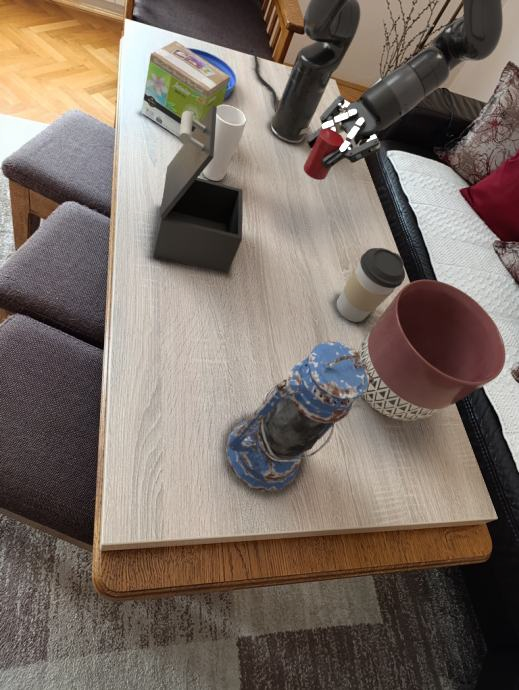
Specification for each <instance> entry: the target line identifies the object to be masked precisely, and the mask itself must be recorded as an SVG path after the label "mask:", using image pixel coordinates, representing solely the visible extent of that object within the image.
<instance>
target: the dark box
mask: <svg viewBox="0 0 519 690" xmlns="http://www.w3.org/2000/svg"><path fill="white" fill-rule="evenodd" d="M243 194H244V190H243V189H242V188H239V187H236V186H231V185H228V184H224V183H220V182H217V181H213V180H209V179H204V178H201V177H197V179H196V180H195V181H194V182H193V184H192V185H191V186H190V187H189V188H188V190H187V191H186V192H185V193H184V195H183V196H182V197H181V198H180V199H179V201H178V202H177V203H176V204H175V206H174V207H173V208H172V209H171V211H170V212H169V213H168V214H167V215H166V217H165V218H164V219H163V218H162V217H160V213H161V206H162V202H161V203H160V206H159V207H160V208H159V212H158V213H159V214H158V221H157V228H156V234H155V240H154V246H153V247H154V248H153V253H152V257H153V258H154V259H158V260H163V261H169V262H173V263H177V264H180V265H181V264H182V265H186V266H191V267H196V268H199V269H200V268H201V269H205V270H209V271H215V272H219V273H222V274H223V273H224V274H229V272H230V270H231V267H232V264H233V262H234V259H235V257H236V254H237V253H238V250H239V247H240V246H241V243H242V240H243V211H244V210H243V209H244V208H243V207H244V206H243V205H244V203H243V202H244V201H243V200H244V196H243ZM162 199H163V197H162V198H161V200H162Z"/></svg>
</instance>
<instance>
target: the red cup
mask: <svg viewBox="0 0 519 690" xmlns="http://www.w3.org/2000/svg"><path fill="white" fill-rule="evenodd" d="M344 142H345V140H344V138H343V136H342V135H341V133H337V132H335V131H333V130H331V129H322V130H321V131H320V133H319V135H318V137H317V139H316V141H315V143H314V145H313V147H312V149H310V152H309V154H308V156H307V157H306V158H307V159H306V160H305V161H304V164H303V171H304V173H305V174H306V175H307V176H308V177H309V178H311V179H313V180H317V181H323V180H325V179H326V178H327V176H328V175H329V172H330V170H331V168H332V167H330V168H329V167H328V168H325V167H324V166H323V164H322V162H321V161H322V159H324V158H325V157H326V156H328V155H329V154H330V153H332V152H333V151H334V150H336V149H337V148H338V150H339V149H340V147H341V146H342V144H343V143H344Z"/></svg>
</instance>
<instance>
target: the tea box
mask: <svg viewBox="0 0 519 690" xmlns="http://www.w3.org/2000/svg"><path fill="white" fill-rule="evenodd" d="M187 48H188V47H187V46H184V45H183V44H182V43H180V42H178V41H177V40H174V41H173V42H170V43H169V44H167V45H165V46H163V47H161V48H159V49H157V50H156V51H154V52H151V53H150V56H149V60H148V61H149V62H148V67H147V73H146V74H147V76H146V81H145V87H144V94H143V99H142V100H143V101H142V107H141V114H142V115H144V116H146V117H147V118H149V119H150V120H151V121H154V122H155V123H157V124H158V125H159V126H161V127H162V128H164V129H166V130H167V131H168V132H170V133H171V134H172V135H174V136H176V137H178V138H179V133H180V126H181V118H182V113H183V112H185V111H189V112H191V113H192V114H193V119H195V120H196V121H198V122H199V123H200V122H201V120H202V119H203V118H204V116H205V115H206V114H207V112H208V111H209V110H210V108H211V107H212V106H213V105H214V106H216V107H217V106H219V105H223V103H224V100H225V99H224V97H225V93H226V90H227V86H228V83H229V79H230V76H229V75H227V74H226V73H224V72H223V71H221V70H220V69H218V68H216V67H215V66H213V65H212V64H210V63H209V62H207V61H206V60H204V59H203V58H201V57H200V56H198V55H197V54H195V53H193V52H192V51H190V50H189V49H187ZM195 129H196V127H195V126H194V125H192V131H191V134H192V133H193V131H194V130H195Z"/></svg>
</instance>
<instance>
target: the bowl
mask: <svg viewBox="0 0 519 690" xmlns="http://www.w3.org/2000/svg"><path fill="white" fill-rule="evenodd" d="M186 48H187V49H189V50H190V51H192V52H193V53H195V54H197V55H198V56H200V57H201V58H203V59H204V60H206V61H207V62H209V63H210V64H212V65H213V66H215V67H216V68H218V69H220V70H221V71H223V72H224V73H226V74H227V75H229V76H230V79H229V83H228V86H227V90H226V93H225V97H224V100H225V99H227V98H228V97H229V96H230V95H231V93H232V91H233V90H234V88H235V86H236V84H237V75H236V74H235V71H234V70H233V69H232V67H231V66H230V65H229V64H228V63H227V62H225V61H224V60H223V59H222V58H220V57H218V56H216V55H214V54H212V53H210V52H207V51H205V50H202V49H197V48H192V47H186Z"/></svg>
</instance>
